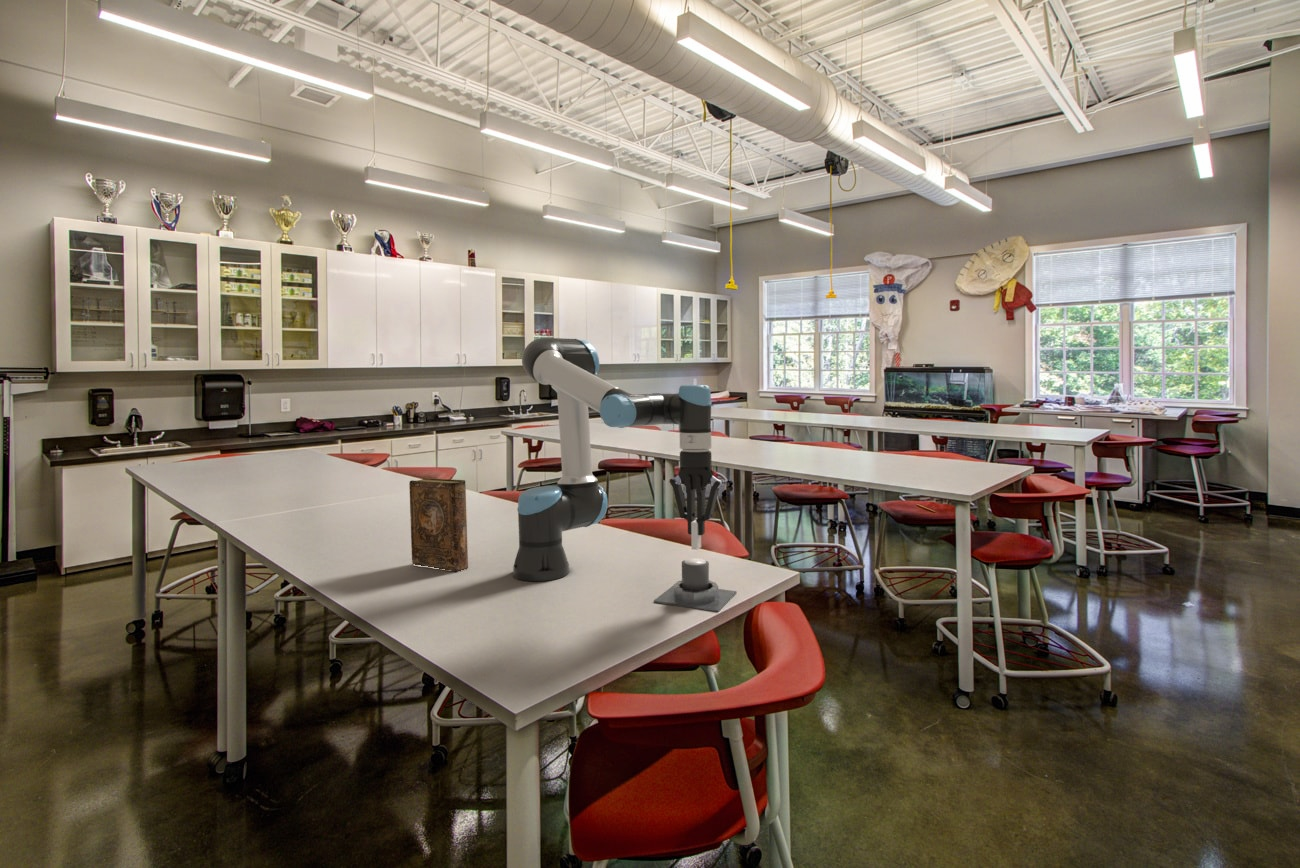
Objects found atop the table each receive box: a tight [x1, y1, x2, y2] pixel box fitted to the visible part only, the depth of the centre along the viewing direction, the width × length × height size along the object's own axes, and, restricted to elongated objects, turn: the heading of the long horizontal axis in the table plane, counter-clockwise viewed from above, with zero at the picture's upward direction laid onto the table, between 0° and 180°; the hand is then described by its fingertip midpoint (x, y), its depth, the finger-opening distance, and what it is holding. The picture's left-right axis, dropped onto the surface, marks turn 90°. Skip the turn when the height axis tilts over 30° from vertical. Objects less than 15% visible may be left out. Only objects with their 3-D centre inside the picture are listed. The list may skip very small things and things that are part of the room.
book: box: [408, 477, 469, 572], centre depth 179 cm, size 16×6×25 cm, turn 68°
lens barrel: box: [681, 557, 710, 591], centre depth 151 cm, size 6×6×8 cm
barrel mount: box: [653, 579, 738, 613], centre depth 152 cm, size 16×14×3 cm
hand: (696, 548), depth 151 cm, fingers closed
